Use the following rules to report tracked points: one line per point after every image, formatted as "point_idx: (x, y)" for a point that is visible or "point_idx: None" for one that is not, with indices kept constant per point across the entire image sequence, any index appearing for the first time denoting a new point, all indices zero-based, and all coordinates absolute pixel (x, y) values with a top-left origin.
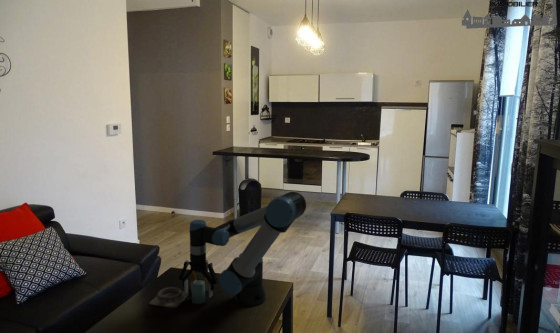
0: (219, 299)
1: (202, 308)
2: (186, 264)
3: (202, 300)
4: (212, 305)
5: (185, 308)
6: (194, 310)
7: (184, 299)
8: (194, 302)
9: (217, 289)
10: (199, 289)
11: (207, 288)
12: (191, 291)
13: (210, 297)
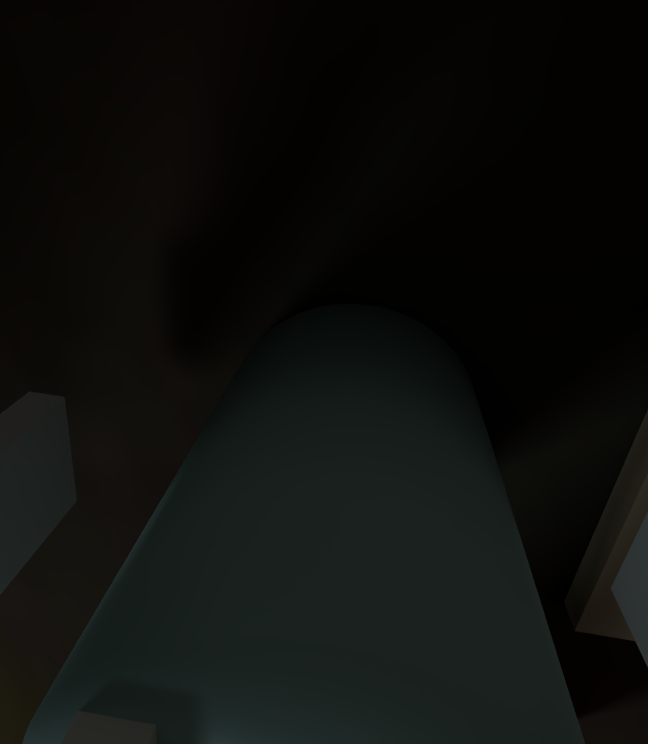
0: None
1: (168, 131)
2: None
3: (238, 372)
4: (32, 277)
5: (558, 73)
6: (313, 5)
7: (636, 439)
8: (399, 321)
9: None
10: (196, 519)
11: None
12: None
13: (26, 398)
